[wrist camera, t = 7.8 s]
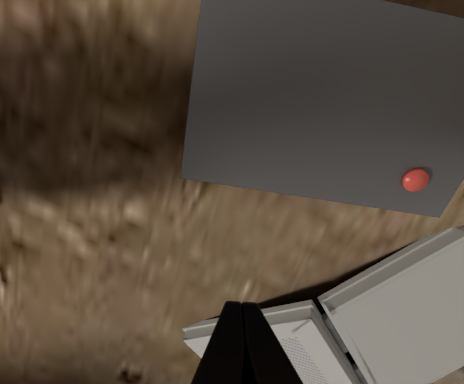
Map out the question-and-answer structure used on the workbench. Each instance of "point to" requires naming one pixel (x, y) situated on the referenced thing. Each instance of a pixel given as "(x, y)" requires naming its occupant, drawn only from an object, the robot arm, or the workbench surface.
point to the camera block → (329, 101)
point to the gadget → (377, 320)
